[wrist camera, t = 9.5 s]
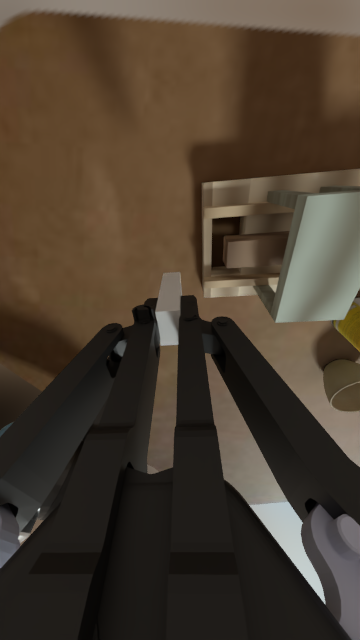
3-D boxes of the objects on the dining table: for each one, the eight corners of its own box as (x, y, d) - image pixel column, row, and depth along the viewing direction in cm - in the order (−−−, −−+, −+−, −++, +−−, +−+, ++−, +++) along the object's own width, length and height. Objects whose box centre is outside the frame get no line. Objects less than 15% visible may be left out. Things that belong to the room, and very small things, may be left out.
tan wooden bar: (222, 267, 26) (228, 283, 22) (224, 226, 23) (232, 236, 19) (364, 258, 25) (398, 273, 21) (384, 214, 22) (428, 221, 18)
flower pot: (370, 346, 38) (404, 376, 32) (356, 379, 43) (382, 410, 38) (314, 354, 39) (337, 384, 33) (307, 384, 45) (326, 415, 39)
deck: (202, 288, 32) (209, 334, 22) (201, 182, 23) (211, 184, 14) (353, 280, 30) (428, 325, 21) (407, 164, 22) (570, 152, 13)
